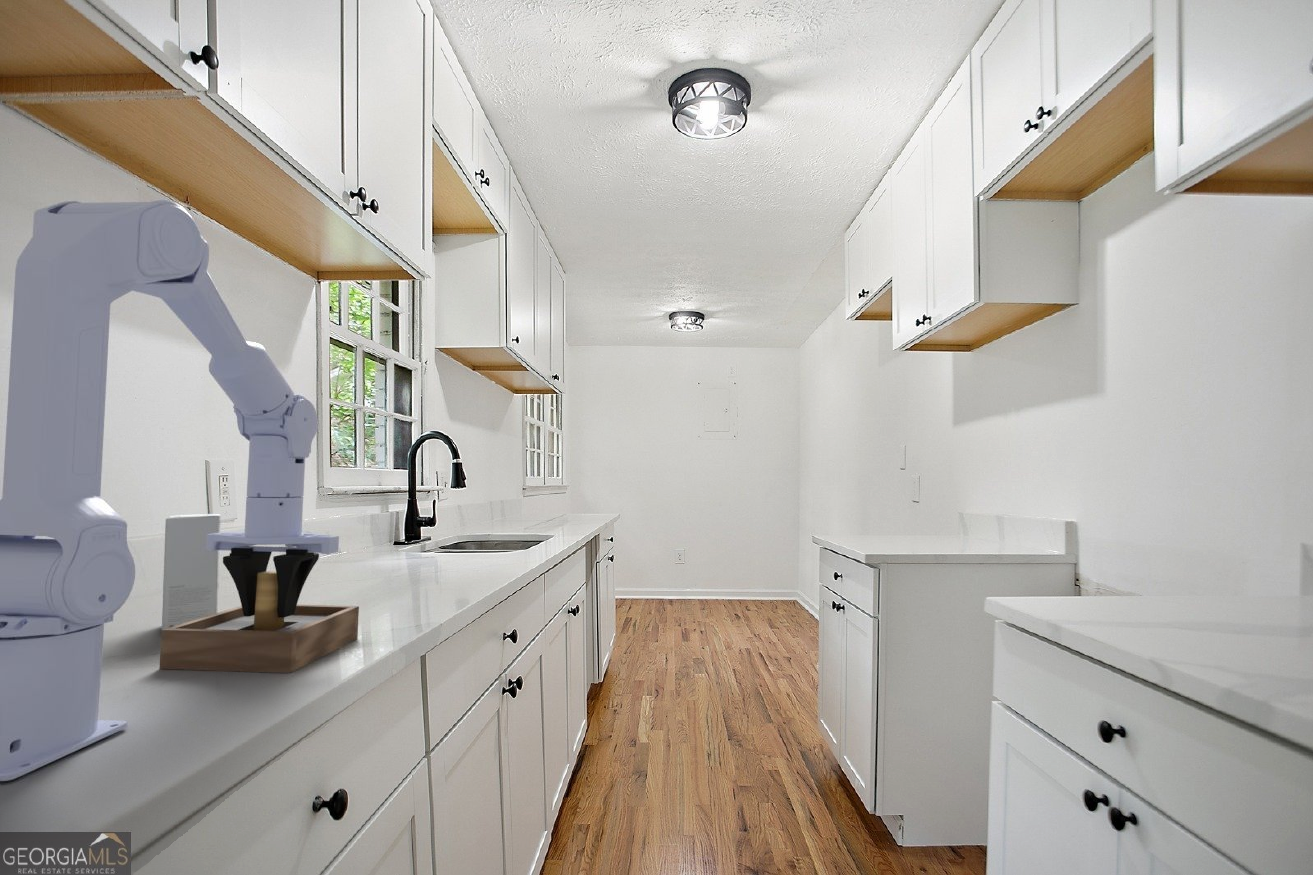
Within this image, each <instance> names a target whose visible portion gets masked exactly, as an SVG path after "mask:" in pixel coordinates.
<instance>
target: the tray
mask: <svg viewBox="0 0 1313 875" xmlns="http://www.w3.org/2000/svg"><path fill="white" fill-rule="evenodd" d="M359 611H360V606H359V605H357V606H355V605H327V604H326V605H324V604H322V605H321V604H319V605H318V604H297V605H296V609H295V613H294V614H293V615H290V616H287V617H284V628H282V629H279V630H277V631H257V630H253V629H254V615H252V616H249V617H246V616H244V614H243V609H242V605H241V606H240V605H239V606H237V607H234V608H230V609H227V610H224V611H220V612H218V613H216V614H213V615H210V616H206V617H203V618H200V619H196V620H193V621H190V622H186V623H183V624H180V625H177V626H173V627H170V628H167V629H163V630H162V629H161V635H160V636H161V640H160V656H159V668H158V669H159V670H183V671H184V670H185V671H187V670H189V671H191V670H192V671H217V672H218V671H219V672H221V671H222V672H244V673H245V672H246V673H248V672H249V673H252V672H253V673H284V674H291V673H294V672H295V671H297V670H299V669H301V668H303V667H305V666H307V665H309V664H311V663H313V662H315V661H317V660H319V659H320V658H323V657H325V656H326V655H329V654H330V653H332V652H334V651H336V650H339V649H341V648H342V647H343V646H346V645H348V644H350V643H352V642H354V641H356V640H358V637H359V636H358V635H359V615H360V614H359Z"/></svg>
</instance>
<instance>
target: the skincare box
mask: <svg viewBox="0 0 1313 875" xmlns="http://www.w3.org/2000/svg"><path fill="white" fill-rule="evenodd" d="M221 516H222V515H221V514H220V513H204V514H203V513H202V514H201V513H199V514H178V515H177V514H175V515H169V516H167V517H166V518H165V526H164V527H165V528H164V529H165V532H164V554H163V555H164V557H163V578H162V580H163V582H162V586H163V587H162V609H161V611H162V613H161V614H162V615H161V631H162V630H163V629H167V628H170V627H173V626H177V625H180V624H183V623H186V622H190V621H193V620H196V619H200V618H203V617H206V616H210V615H213V614H216V613H219V578H220V577H219V576H220V575H219V574H220V573H219V572H220V550H218V551H206V540H207V534H213V533H221V519H222V518H221Z"/></svg>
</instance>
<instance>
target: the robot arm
mask: <svg viewBox="0 0 1313 875" xmlns="http://www.w3.org/2000/svg"><path fill="white" fill-rule="evenodd" d="M32 226H33V227H32V237H31V238H30V240H29V241H28V243H27V244H26V246H25V247H24V249H23V250H22V252H21V253H20V255H19V256H18V258H17V260H16V266H15V272H14V273H15V275H14V289H13V308H12V325H11V339H10V340H11V343H10V359H9V360H10V361H9V376H8V390H7V392H8V393H7V394H8V396H7V406H6V407H7V409H6V411H7V412H6V426H5V427H6V428H5V445H4V446H5V447H4V448H5V449H4V462H3V478H2V480H3V481H2V497H1V499H0V782H7V781H12V780H14V779H15V780H16V779H17V778H19V777H21V776H24V775H26V774H28V773H30V772H33V771H35V770H37V769H39V768H41V767H44V766H46V765H49V764H50V763H52V762H55V761H57V760H59V759H61V758H63V757H66V756H67V755H70V754H72V753H74V752H76V751H79V750H80V749H82V748H85V747H88V746H90V745H91V744H94V743H96V742H98V741H100V740H102V739H105V738H107V737H109V736H111V735H114V734H116V733H118V732H120V731H122V730H124V729H126V728H128V726H129V725H128V721H127V720H111V719H109V720H106V719H99V711H100V710H99V708H100V692H101V679H102V678H101V677H102V676H101V675H102V661H103V648H104V632H105V624H107V623H111V622H114V615H115V614H116V613H117V612H118V611H119V610H120V609H121V608H122V607H123V605H124V604H125V603H126V601H128V598H129V597H130V594H131V592H132V590H133V587H134V585H135V580H136V564H135V560H134V557H133V556H132V553H131V550H130V549H129V548H130V547H129V545H128V539H127V538H128V523H127V521H126V520H125V519H124V518H123V517H122V516H121V515H120V514H119V513H118V512H116V511H115V509H113V508H112V507H111V506H110V505H109V504H108V503H107V502H105V500H104V499H103V498H102V497H101V491H102V489H101V488H102V473H103V452H104V451H103V450H104V431H105V429H104V428H105V416H106V415H105V414H106V413H105V412H106V411H105V410H106V395H107V394H106V393H107V379H108V378H107V375H108V374H107V373H108V354H109V338H110V334H109V333H110V322H111V321H110V319H111V318H110V317H111V316H110V315H111V304H112V303H113V302H114V301H116V300H118V299H120V298H122V297H124V296H125V295H127V294H128V293H131V292H136V293H140V294H144V295H148V296H152V297H156V298H158V299H161V300H162V301H163V302H164V304H166V305H167V306H168V307H169V309H170V310H171V311H172V313H174V314H175V315H176V317H178V319H179V320H180V321H181V322H182V324H183V325H184V326H185V327H186V328H187V329H188V330H189V332H190V333H191V334H192V335H193V336H194V337H195V338H196V339H197V340H198V342H199V343H200V344H201V345H202V346H203V347H204V348H205V350H206V351H207V352H208V353H209V354H210V355H211V357H210V360H209V364H208V372H209V374H210V375H211V376H212V378H213V379H214V380H215V382H217V384H218V386H220V388H221V390H222V391H223V392H224V394H226V396H227V398H229V400H230V401H231V402H232V404H233V412H234V413H235V416H236V423H237V427H238V431H239V434H240V435H241V436H242V437H244V439H246V440H247V441H249V443H248V444H249V445H248V447H249V448H248V461H247V462H248V465H247V479H246V480H247V484H246V499H245V518H244V532H220V533H213V534H207V540H206V551H218V550H219V551H230V553H229V555H226V556H222V564H223V565H224V566H225V568H226V570H227V571H228V572H229V575H230V576H231V579H232V580H233V584H234V585H235V587H236V590H237V594H238V596H239V600H240V605H241V606H242V609H243V614H244V616H246V617H249V616H252V615H255V601H256V588H257V574H258V573H260V572H267V571H268V570H267V569H268V566H269V563H270V558H271V556H272V552H273V553H274V552H275V553H276V552H277V553H285V554H279V555H275V556H273V558H272V560H273V564H274V568H275V571H276V574H277V581H278V603H277V611H278V617H281V618H284V617H287V616H290V615H293V614H294V613H295V609H296V605H298V601H299V599H300V595H301V593H302V590H303V587H304V585H305V583H306V582H307V579H308V576H309V575H310V573H311V571H312V570H313V568H314V567H315V565H316V564H317V562H318V561H319V557H320V554H321V555H330V554H335V553H338V552H339V542H340V541H339V540H340V536H339V535H335V534H334V535H330V534H316V533H303V511H304V509H303V508H304V488H305V468H306V459H307V458H309V457H310V454H311V453H312V443H313V440H314V439H315V436H316V435H317V432H318V429H319V424H320V423H319V422H320V421H319V420H318V416H317V411H316V408H315V405H314V404H313V402H311V401H310V400H308V399H307V398H306V397H305V396H304V395H300V394H295V392H294V390H292V389H293V388H291V386H290V385H289V383H288V381H287V380H286V378H285V376H283V374H282V372H281V371H280V369H279V368H278V366H277V365H276V363H275V362H274V360H273V359H272V357H271V356H270V355H269V353H268V351H267V350H266V348H265V347H264V345H262V344H260V343H257V342H254V341H247V340H246V338H245V336H244V335H243V333H242V332H241V329H240V328H239V326H238V324H237V323H236V320H235V318H234V317H233V315H232V314H231V311H230V310H229V308H228V306H227V304H226V303H225V301H224V299H223V297H222V295H221V294H220V291H219V290H218V288H217V286H216V284H215V282H214V281H213V279H212V277H211V275H210V274H209V272H208V267H209V264H210V245H209V243H208V242H207V240H206V239H204V237H203V236H202V233H201V230H200V229H199V226H198V225H197V222H196V221H195V219H194V217H193V216H192V214H190V213H189V211H187V210H186V209H185V208H184V207H183V206H182V205H180V204H178V203H177V202H175V201H172V200H167V199H160V200H151V201H118V202H117V201H114V202H113V201H112V202H111V201H109V202H107V201H105V202H103V201H102V202H81V201H77V200H66V201H62V202H58V203H54V204H52V205H49V206H46V207H45V206H44V207H41V208H39V209H36V210H35V211H34V212H33V224H32ZM36 537H46V538H36ZM47 537H48V538H47ZM258 545H260V546H258ZM268 545H270V546H268ZM272 545H285V546H272Z"/></svg>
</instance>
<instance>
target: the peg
mask: <svg viewBox="0 0 1313 875" xmlns="http://www.w3.org/2000/svg"><path fill="white" fill-rule="evenodd" d="M277 603H278V581H277V574H276V570H271V571H270V570H269V571H268V570H267V571H266V572H260V573H258V574H257V588H256V601H255V615H254V629H253V630H257V631H277V630H279V629H282V628H284V618H281V617H278V611H277Z"/></svg>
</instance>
